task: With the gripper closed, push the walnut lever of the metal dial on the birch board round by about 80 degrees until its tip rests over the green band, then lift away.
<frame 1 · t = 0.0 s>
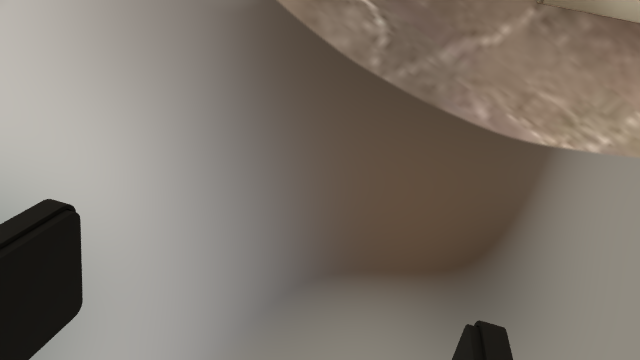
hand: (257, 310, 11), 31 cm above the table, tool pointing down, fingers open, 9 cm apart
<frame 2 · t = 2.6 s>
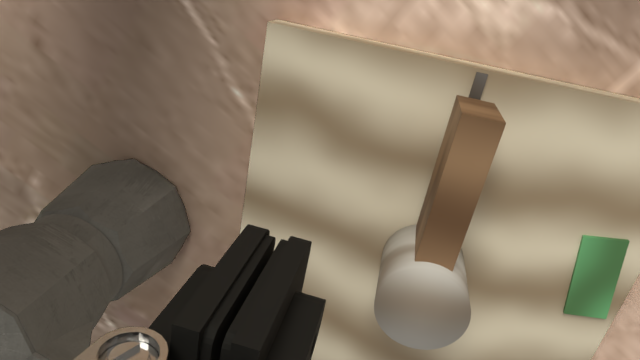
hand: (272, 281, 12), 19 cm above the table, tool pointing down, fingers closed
dial: (441, 223, 26), point 5 cm above the table, hinge at 0.0°
dial board: (422, 241, 32), on the table
coffeepot: (123, 208, 36), on the table
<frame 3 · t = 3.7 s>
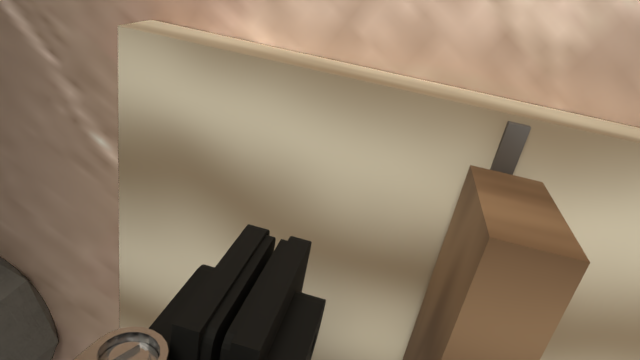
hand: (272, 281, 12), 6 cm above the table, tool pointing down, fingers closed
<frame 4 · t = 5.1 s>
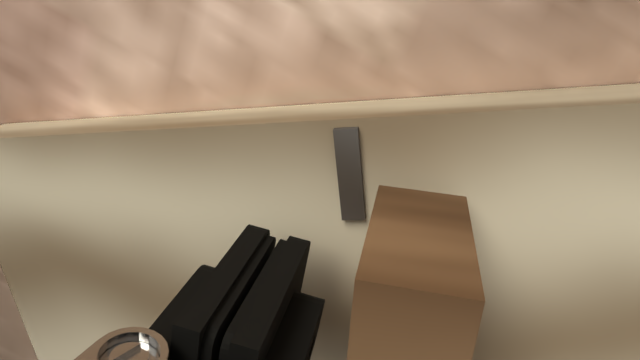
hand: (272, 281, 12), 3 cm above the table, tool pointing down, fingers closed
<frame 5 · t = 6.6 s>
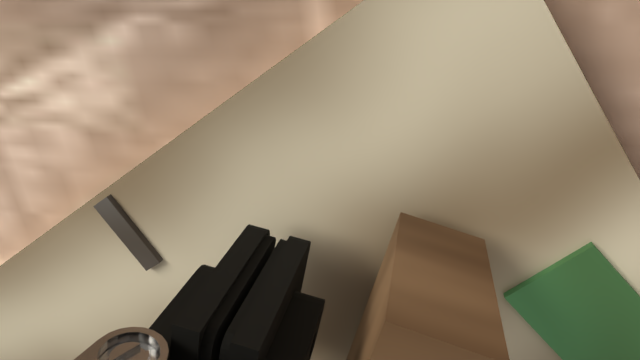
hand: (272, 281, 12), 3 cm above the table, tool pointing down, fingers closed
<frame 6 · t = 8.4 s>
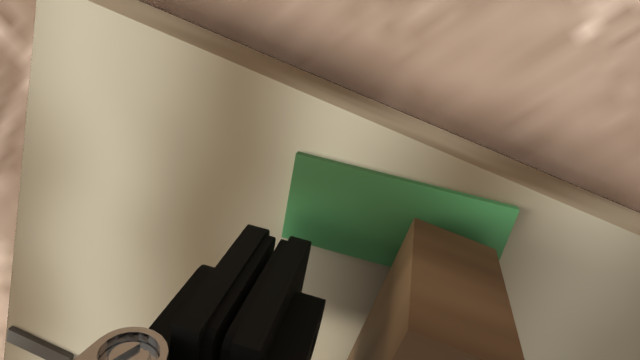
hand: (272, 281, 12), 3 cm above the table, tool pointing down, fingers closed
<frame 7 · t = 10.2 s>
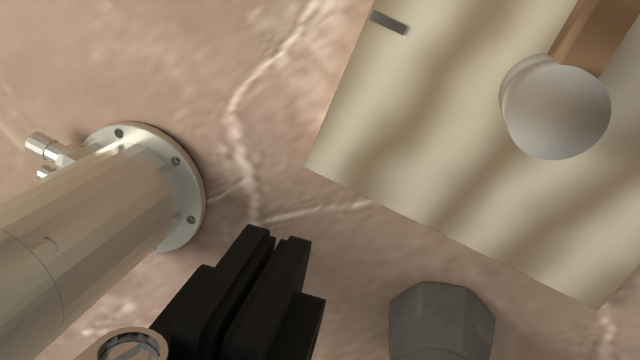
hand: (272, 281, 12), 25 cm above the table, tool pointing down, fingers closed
dial: (589, 37, 25), point 5 cm above the table, hinge at -87.9°
dial board: (535, 86, 32), on the table
coffeepot: (433, 331, 41), on the table
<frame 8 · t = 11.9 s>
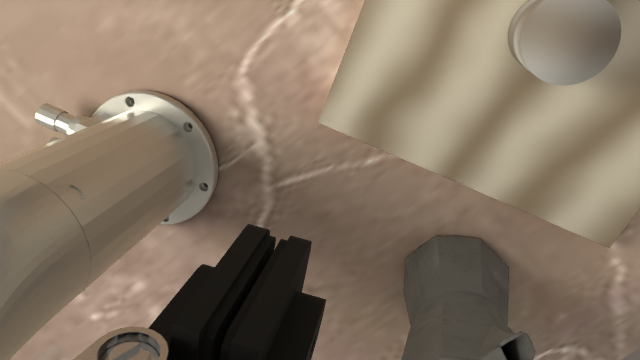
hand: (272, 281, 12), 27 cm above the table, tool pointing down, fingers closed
dial board: (540, 29, 33), on the table
coffeepot: (448, 286, 42), on the table
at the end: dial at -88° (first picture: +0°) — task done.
